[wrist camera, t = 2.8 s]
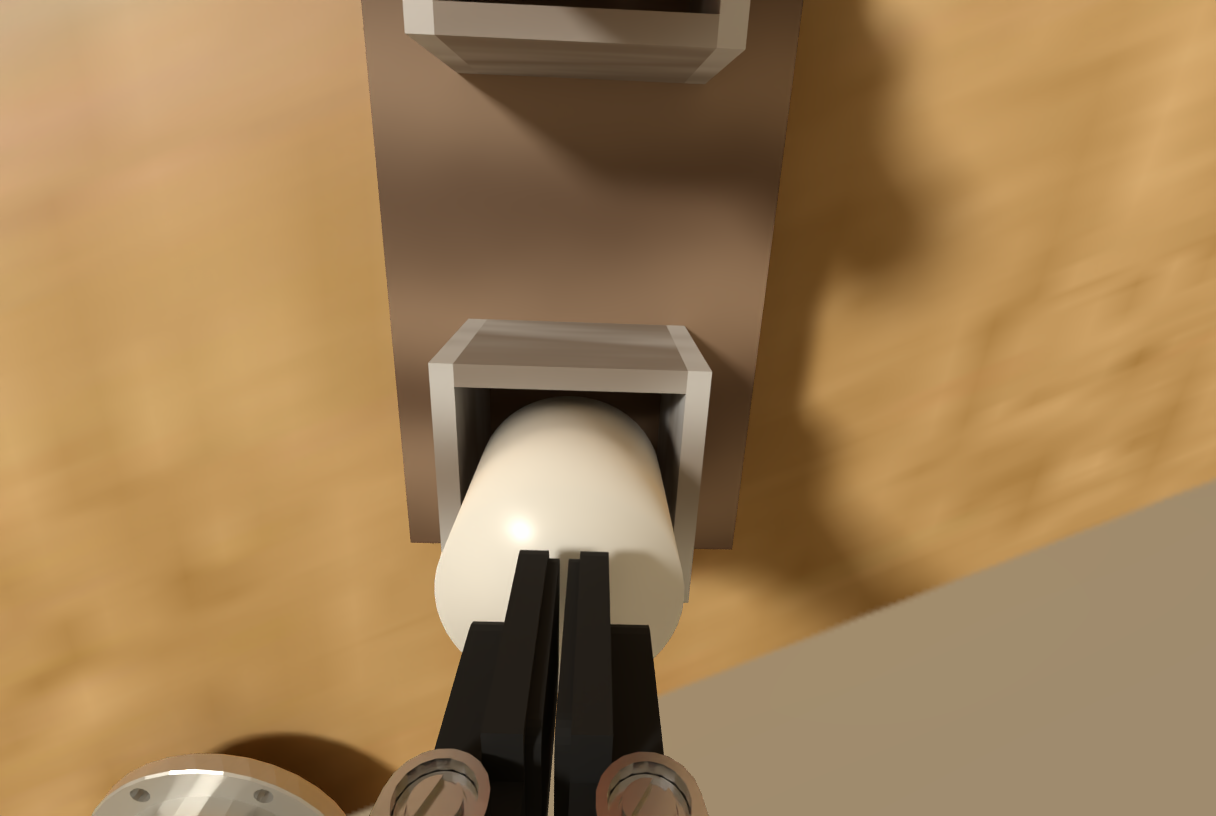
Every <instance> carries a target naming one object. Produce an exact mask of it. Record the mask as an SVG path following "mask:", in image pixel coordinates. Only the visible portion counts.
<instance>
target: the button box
mask: <svg viewBox="0 0 1216 816" xmlns="http://www.w3.org/2000/svg"><path fill="white" fill-rule="evenodd" d="M361 3H362V14H363V25H364V36H365V47H366V58H367V69H368V80H369V91H370V102H371V113H372V124H373V134H374V145H375V156H376V167H377V178H378V189H379V200H380V211H381V222H382V233H383V244H384V255H385V266H386V277H387V288H388V299H389V309H390V320H391V331H392V342H393V353H394V364H395V375H396V386H397V397H398V408H399V419H400V430H401V441H402V452H403V463H404V474H405V484H406V495H407V506H408V517H409V528H410V539H411V543H441V551H442V552H443V549H444V547H445V544H446V542H447V539H448V537H449V535H450V532H451V530H452V527H453V525H454V522H455V520H456V518H457V515H458V513H459V510H460V508H461V505H462V503H463V501H464V498H465V496H466V493H467V491H468V488H469V486H470V483H471V481H472V479H473V476H474V474H475V471H476V469H477V466H478V464H479V462H480V459H481V457H482V454H483V452H484V449H485V447H486V445H487V443H488V441H489V439H490V437H491V436H492V434H493V433H494V432H495V430H496V429H497V428H498V427H499V426H500V424H501V423H502V422H503V421H504V420H505V419H507V418H508V417H509V416H510V415H512V414H513V413H514V412H516V411H517V410H519V409H521V408H522V407H524V406H526V405H529V404H531V403H533V402H536V401H539V400H543V399H546V398H552V397H558V396H577V397H586V398H590V399H595V400H598V401H601V402H604V403H607V404H609V405H611V406H613V407H615V408H617V409H619V410H620V411H622V412H623V413H625V414H626V415H628V416H629V417H630V418H631V419H632V420H634V421H635V422H636V423H637V424H638V425H639V426H640V428H641V429H642V430H643V431H644V432H645V434H646V435H647V437H648V438H649V440H650V441H651V444H652V446H653V448H654V450H655V453H656V456H657V459H658V463H659V468H660V472H661V477H662V481H663V486H664V490H665V495H666V500H667V504H668V509H669V513H670V518H671V522H672V527H673V532H674V536H675V541H676V545H677V550H678V554H679V559H680V564H681V568H682V573H683V580H684V602H683V603H688V600H689V591H690V581H691V571H692V562H693V552H694V549H732V545H733V538H734V530H735V522H736V515H737V507H738V499H739V491H740V484H741V476H742V468H743V461H744V453H745V445H746V438H747V430H748V422H749V414H750V407H751V399H752V391H753V384H754V376H755V368H756V360H757V353H758V345H759V337H760V330H761V322H762V314H763V307H764V299H765V291H766V283H767V276H768V268H769V260H770V253H771V245H772V237H773V229H774V222H775V214H776V206H777V199H778V191H779V183H780V175H781V168H782V160H783V152H784V145H785V137H786V129H787V122H788V114H789V106H790V98H791V91H792V83H793V75H794V68H795V60H796V52H797V44H798V37H799V29H800V21H801V14H802V6H803V0H361Z"/></svg>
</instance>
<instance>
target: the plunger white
mask: <svg viewBox="0 0 1216 816" xmlns="http://www.w3.org/2000/svg"><path fill="white" fill-rule="evenodd" d="M520 550H549V558H559V559H560V605H559V673H560V661H561V648H562V636H563V623H564V611H565V599H566V586H567V574H568V561H569V559H580V551H592V552H609V583H610V624H626V625H649V628H650V634H651V643H652V652H653V658H654V657H655V656H656V655H657V654H658V653H659V652H660V651H661V650H662V649H663V648H664V646H665V645H666V644H667V642H668V641H669V639H670V638H671V636H672V634H673V633H674V631H675V629H676V627H677V625H678V622H679V619H680V616H681V613H682V608H683V602H684V580H683V573H682V568H681V564H680V559H679V554H678V550H677V545H676V541H675V536H674V532H673V527H672V522H671V518H670V513H669V509H668V504H667V500H666V495H665V490H664V486H663V481H662V477H661V472H660V468H659V463H658V459H657V456H656V453H655V450H654V448H653V446H652V444H651V441H650V440H649V438H648V437H647V435H646V434H645V432H644V431H643V430H642V429H641V428H640V426H639V425H638V424H637V423H636V422H635V421H634V420H632V419H631V418H630V417H629V416H628V415H626V414H625V413H623V412H622V411H620V410H619V409H617V408H615V407H613V406H611V405H609V404H607V403H604V402H601V401H598V400H595V399H590V398H586V397H577V396H558V397H552V398H546V399H543V400H539V401H536V402H533V403H531V404H529V405H526V406H524V407H522V408H521V409H519V410H517V411H516V412H514V413H513V414H512V415H510V416H509V417H508V418H507V419H505V420H504V421H503V422H502V423H501V424H500V426H499V427H498V428H497V429H496V430H495V432H494V433H493V434H492V436H491V437H490V439H489V441H488V443H487V445H486V447H485V449H484V452H483V454H482V457H481V459H480V462H479V464H478V466H477V469H476V471H475V474H474V476H473V479H472V481H471V483H470V486H469V488H468V491H467V493H466V496H465V498H464V501H463V503H462V505H461V508H460V510H459V513H458V515H457V518H456V520H455V522H454V525H453V527H452V530H451V532H450V535H449V537H448V539H447V542H446V544H445V547H444V549H443V552H442V554H441V557H440V560H439V563H438V566H437V570H436V576H435V600H436V606H437V610H438V613H439V616H440V620H441V622H442V624H443V626H444V628H445V630H446V632H447V634H448V635H449V637H450V638H451V640H452V641H453V643H454V644H455V645H456V647H457V648H458V649H459V650H460V651H461V652H463V648H464V645H465V641H466V638H467V635H468V631H469V628H470V625H471V623H472V622H473V621H487V622H504V621H505V616H506V612H507V607H508V602H509V597H510V593H511V588H512V583H513V579H514V574H515V569H516V564H517V560H518V555H519V551H520ZM558 686H559V678H558Z"/></svg>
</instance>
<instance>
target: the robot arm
mask: <svg viewBox="0 0 1216 816" xmlns="http://www.w3.org/2000/svg"><path fill="white" fill-rule="evenodd" d="M559 605H560V559H559V558H549V550H520V551H519V555H518V560H517V564H516V569H515V574H514V579H513V583H512V588H511V593H510V597H509V602H508V607H507V612H506V616H505V621H504V622H487V621H473V622H472V623H471V625H470V628H469V631H468V635H467V638H466V641H465V645H464V648H463V652H462V655H461V659H460V662H459V666H458V669H457V673H456V676H455V680H454V683H453V687H452V690H451V694H450V697H449V701H448V704H447V708H446V711H445V715H444V718H443V722H442V725H441V729H440V732H439V736H438V739H437V743H436V746H435V750H432V751H428V752H424V753H422V754H420V755H418V756H416V757H414V758H412V759H410V760H409V761H407V762H406V763H405V764H403V765H402V766H401V767H400V768H399V769H398V770H397V771H395V772H394V773H393V775H392V776H391V778H390V779H389V780H388V782H387V783H386V785H385V786H384V788H383V789H382V791H381V793H380V795H379V797H378V799H377V801H376V803H375V805H374V807H373V809H372V811H371V813H370V815H369V816H548V804H549V792H550V780H551V779H550V778H551V768H552V767H551V766H552V755H553V743H554V731H555V754H554V758H555V759H554V760H555V761H554V763H555V764H554V816H709V815H708V812H707V809H706V806H705V803H704V800H703V797H702V793H701V791H700V789H699V787H698V785H697V783H696V781H695V779H694V777H693V776H692V775H691V774H690V773H689V772H688V771H687V770H686V768H684V766H683V765H681V764H680V763H678V762H676V761H675V760H673V759H672V758H670V757H668V756H665V755H664V752H663V743H662V734H661V725H660V716H659V707H658V698H657V688H656V679H655V670H654V661H653V652H652V643H651V634H650V628H649V625H626V624H610V583H609V552H592V551H580V559H569V561H568V574H567V586H566V599H565V611H564V623H563V636H562V648H561V661H560V673H559ZM558 678H559V686H558ZM557 694H558V698H557ZM556 706H557V710H556ZM555 718H556V725H555ZM92 816H347V815H346V814H345V813H344V812H343V811H342V809H341V808H340V807H339V806H338V805H337V803H336V802H335V801H334V800H333V799H331V798H330V797H329V796H328V795H327V794H326V793H324V792H323V791H322V790H321V789H320V788H318V787H317V786H315V785H314V784H312V783H310V782H309V781H307V780H305V779H304V778H302V777H300V776H299V775H297V774H295V773H292V772H290V771H288V770H285V769H283V768H280V767H278V766H276V765H273V764H270V763H266V762H263V761H259V760H255V759H252V758H248V757H241V756H234V755H227V754H200V753H196V754H188V755H181V756H173V757H168V758H164V759H161V760H158V761H154V762H151V763H148V764H145V765H143V766H142V767H140V768H138V769H136V770H134V771H132V772H130V773H128V774H127V775H126V776H124V777H123V778H122V779H121V780H120V781H119V782H117V783H116V784H115V785H114V786H113V787H112V788H111V790H110V791H109V792H108V793H107V795H106V796H105V797H104V799H103V800H102V801H101V802H100V804H99V805H98V806H97V807H96V808H95V810H94V812H93V814H92Z"/></svg>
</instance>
